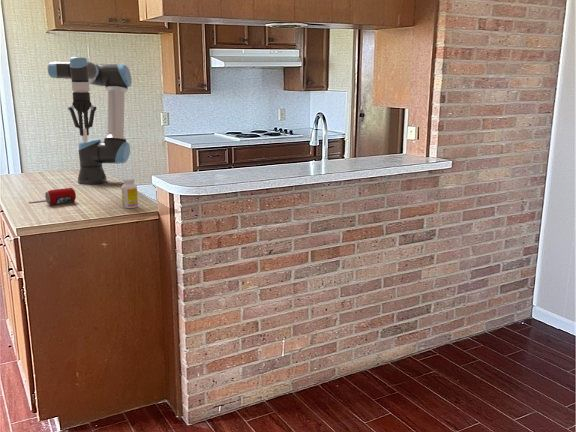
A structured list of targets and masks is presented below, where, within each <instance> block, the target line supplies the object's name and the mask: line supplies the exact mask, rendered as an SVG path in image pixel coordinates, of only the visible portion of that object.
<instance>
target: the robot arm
mask: <svg viewBox="0 0 576 432" xmlns="http://www.w3.org/2000/svg"><path fill="white" fill-rule="evenodd" d="M47 73H48V75H49V78H52V79H63V80H64V79H66V80H71V89H72V105H70V106H68V107H67V110H68V112H70V116H71V118H72V121H73V124H74V127H75V128H76V129H77V128H78V129H79V135H80V136H81V138H82V139H81V140H82V141H80V142H79V143H78V158H79V159H78V160H79V172H78V175H77V183H78V184H81V185H82V184H83V185H97V184H103V183H107V181H108V180H107V179H108V178H107V175H106V173H105V170H104V167H103V164H117V165H118V164H126V163H127V162H128V160H129V158H130V154H131V147H130V145H131V144H130V143H129V142H127V138H126V137H125V136H124V135H125V133H124V131H125V129H124V128H125V98H126V97H125V93H126V92H127V91H128V88H129V87H131V86H132V74H131V71H130V68H129V66H128V65H125V64H120V63H117V64H116V63H115V64H107V63H106V64H104V63H100V64H99V63H98V64H96V63H93V62H91V61H90V62H88V58H86V57H80V56H77V57H76V56H72V57H70V58H69V62H66V61H51V62H49V63H48V65H47ZM90 85H94V86H100V87H104V88H105V90H106V91H107V125H106V126H107V127H106V128H107V132H106V134H107V135H106V136H105V137H104V138H103V139H104V140H103V141H102V140H101V139H100V138H96V139H94V138H93V139H88V136H89V135H90V131H89V129H90V128H93V124H94V118H95V113H96V111H97V109H98V108H97V106H94V105H93V104H92V102H91V93H90ZM89 110H90V111H89ZM75 111H77V114H76V112H75ZM89 112H90V114H89Z"/></svg>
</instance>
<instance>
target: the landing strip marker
mask: <svg viewBox="0 0 576 432" xmlns="http://www.w3.org/2000/svg"><path fill="white" fill-rule="evenodd" d="M45 202H46V199H44V200H36V201H35V200H34V201H28V204H35V203H45Z"/></svg>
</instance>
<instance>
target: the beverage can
mask: <svg viewBox="0 0 576 432" xmlns="http://www.w3.org/2000/svg"><path fill="white" fill-rule="evenodd" d="M44 194H45V195H44V196H45V200H46V201H45V202H46V203H47V204H48V205H51V206H53V205H61V204H68V203H74V202H75V201H76V198H77V195H76V191H75V189H74V188H73V187H66V188H64V187H63V188H58V189H50V190H48V191H47V192H45V193H44Z"/></svg>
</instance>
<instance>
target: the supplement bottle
mask: <svg viewBox="0 0 576 432" xmlns="http://www.w3.org/2000/svg"><path fill="white" fill-rule="evenodd" d="M122 181H123V184H122V185H121V198H122V199H121V200H122V207H123V208H124V209H135V208H138V207H139V200H138V186H137V184H135V178H134V177H133V178H132V177H130V178H129V177H128V178H122Z"/></svg>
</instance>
